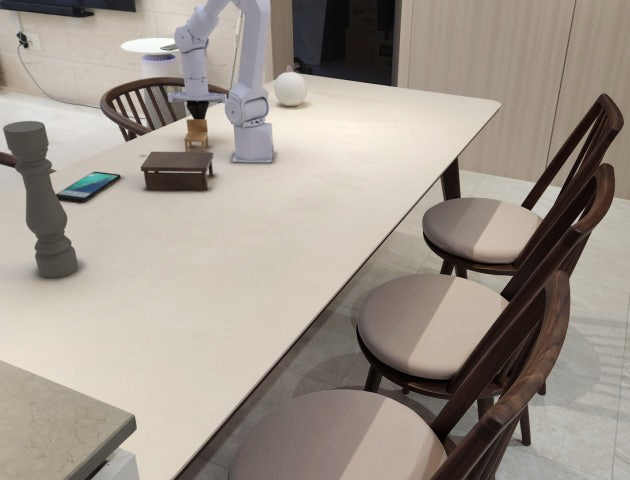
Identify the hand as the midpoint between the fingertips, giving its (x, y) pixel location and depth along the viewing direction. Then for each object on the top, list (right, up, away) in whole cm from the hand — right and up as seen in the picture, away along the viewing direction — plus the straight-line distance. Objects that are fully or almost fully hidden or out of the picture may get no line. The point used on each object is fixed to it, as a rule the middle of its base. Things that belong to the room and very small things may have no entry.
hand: (200, 129), depth 167 cm
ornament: (+19, +16, +35) cm, 43 cm away
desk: (+2, -18, -23) cm, 29 cm away
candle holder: (-9, -38, -58) cm, 70 cm away
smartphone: (-17, -20, -28) cm, 38 cm away
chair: (0, -6, -4) cm, 8 cm away
